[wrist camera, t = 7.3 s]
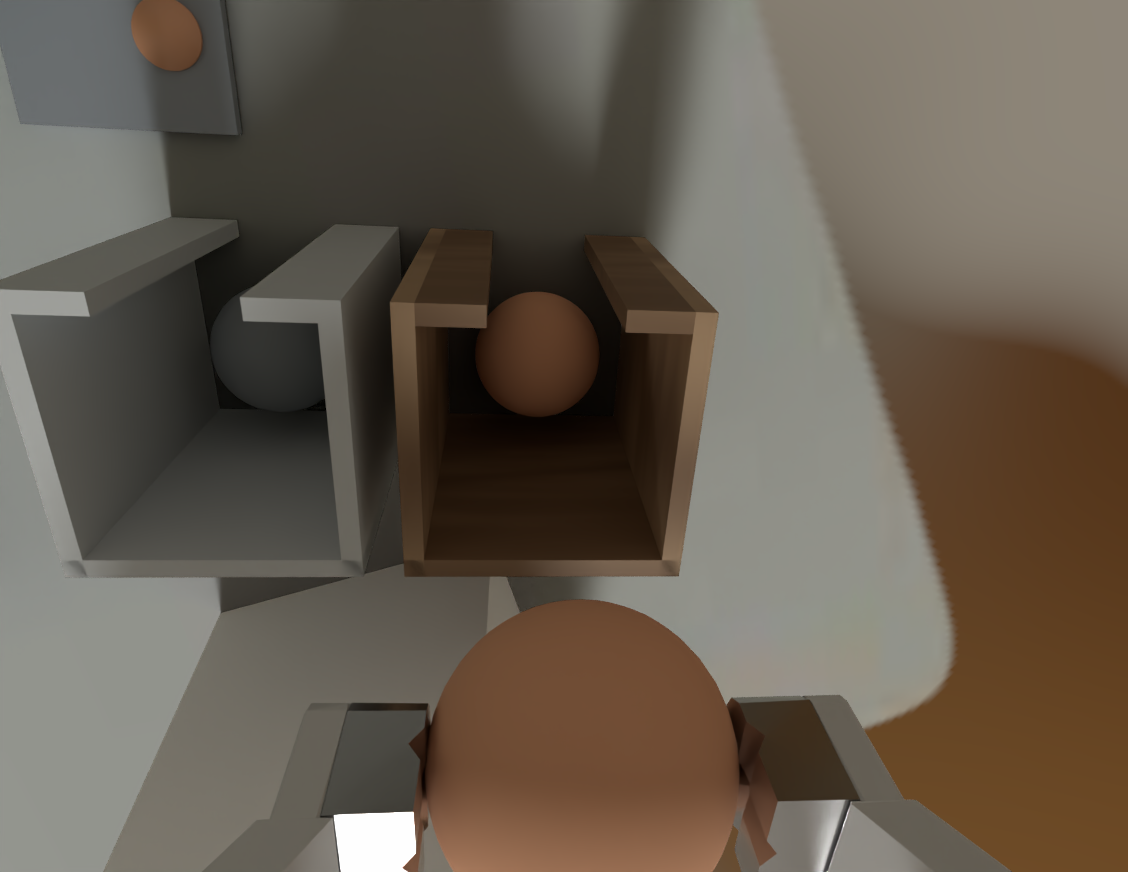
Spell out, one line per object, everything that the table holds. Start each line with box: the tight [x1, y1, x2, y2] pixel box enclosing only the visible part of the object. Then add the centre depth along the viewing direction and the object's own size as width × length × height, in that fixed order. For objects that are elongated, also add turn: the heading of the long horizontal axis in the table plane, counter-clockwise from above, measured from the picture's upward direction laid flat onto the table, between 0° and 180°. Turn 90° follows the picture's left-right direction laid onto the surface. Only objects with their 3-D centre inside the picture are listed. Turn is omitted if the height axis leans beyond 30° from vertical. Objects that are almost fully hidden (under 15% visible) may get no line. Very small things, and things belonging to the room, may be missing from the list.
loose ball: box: [425, 599, 740, 872], centre depth 9 cm, size 4×4×4 cm
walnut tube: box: [390, 228, 719, 577], centre depth 21 cm, size 7×7×9 cm
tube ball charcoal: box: [210, 286, 325, 412], centre depth 22 cm, size 4×4×4 cm
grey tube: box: [0, 217, 401, 578], centre depth 20 cm, size 7×7×9 cm
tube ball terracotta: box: [475, 292, 600, 417], centre depth 23 cm, size 4×4×4 cm
